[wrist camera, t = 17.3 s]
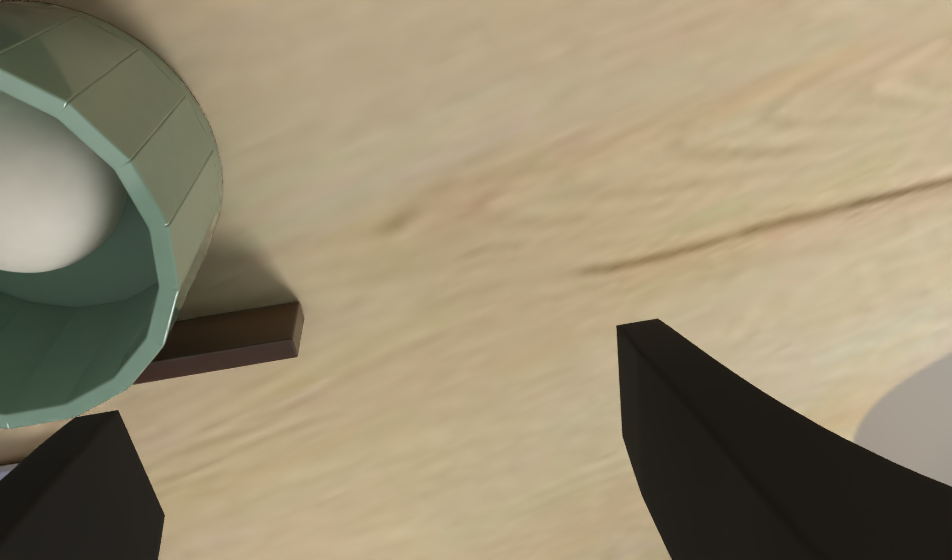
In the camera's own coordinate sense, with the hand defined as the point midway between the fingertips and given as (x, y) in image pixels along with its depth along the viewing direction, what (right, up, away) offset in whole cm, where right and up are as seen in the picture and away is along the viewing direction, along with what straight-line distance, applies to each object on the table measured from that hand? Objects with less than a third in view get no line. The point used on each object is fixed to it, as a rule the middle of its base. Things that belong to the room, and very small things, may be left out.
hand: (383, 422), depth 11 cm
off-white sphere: (-8, +4, +6) cm, 11 cm away
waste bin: (-9, +5, +8) cm, 13 cm away
